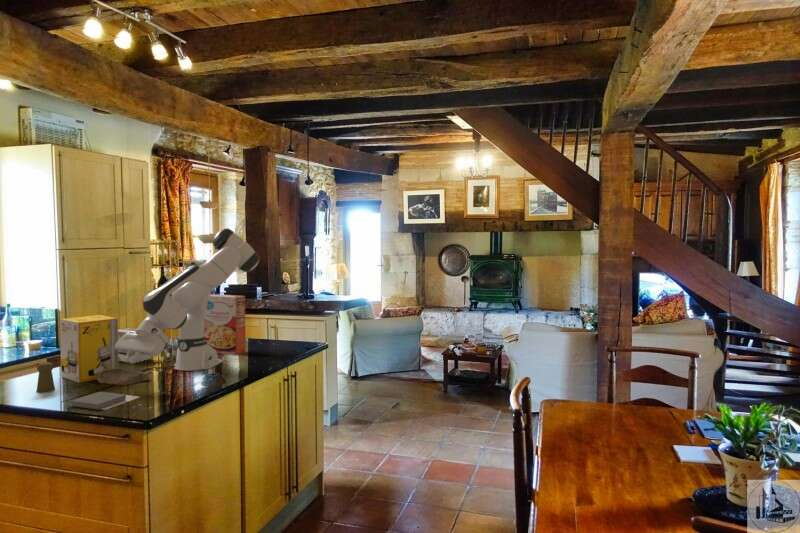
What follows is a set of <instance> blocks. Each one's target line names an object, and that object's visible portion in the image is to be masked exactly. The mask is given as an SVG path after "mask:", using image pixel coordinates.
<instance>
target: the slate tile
mask: <svg viewBox="0 0 800 533" xmlns="http://www.w3.org/2000/svg"><path fill="white" fill-rule="evenodd" d="M126 395H127V394H123V393H115V392H107V391H97V392H95V393H91V394H88V395H85V396H82V397H79V398H75V399H73V400H71V402H70V406H71V407H78V408H83V409H84V408H85V409H91V410H102V409H101V408H104V407H107V406H110V405H112V404H115V403H118V402H121V401H124V400H126Z"/></svg>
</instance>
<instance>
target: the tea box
mask: <svg viewBox="0 0 800 533" xmlns="http://www.w3.org/2000/svg"><path fill="white" fill-rule="evenodd" d="M136 330H137V328H131V327H127V328H122V329H118V340H119V339H120V338H121V337H122V336H123V335H124V334H126V333H128V332H130V331H133V332H135V331H136ZM118 353H119V362H124V363H126V362H125V359H126V357H127V353H122V352H118ZM134 355H135V354H134ZM134 355H133V356H134ZM131 357H132V356H131ZM148 359H149V360H151V356H146V355H141V356H140V357H139V358H138V359H136V360H135V361H134V363H133V364H136V362H137V363H141V362H144V360H145V361H149V360H148ZM140 361H141V362H140Z"/></svg>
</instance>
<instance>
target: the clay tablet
mask: <svg viewBox="0 0 800 533" xmlns="http://www.w3.org/2000/svg"><path fill="white" fill-rule="evenodd" d="M149 380H150V373H149V372H145V371H139V370H132V369H120V368H119V369H112V370H106V371H103V372H102V373H99V375H98V376H97V379H96V381H97V382H98V383H99V384H109V385H116V386H120V385H121V386H127V385H132V384H136V383H142V382H145V381H149Z"/></svg>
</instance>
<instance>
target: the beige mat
mask: <svg viewBox="0 0 800 533" xmlns="http://www.w3.org/2000/svg"><path fill="white" fill-rule="evenodd" d="M125 395H126V400H124V401H121V402H118V403H115V404H112V405H110V406H107V407H104V408H101V409H100V410H102V411H103V410H104V411H106V410H109V409H111V408H114V407H117V406H119V405H122V404H126V403H128V402H131V401H133V400H137V399H139V398H140V396H137V395H136V396H135V395H129V394H125Z"/></svg>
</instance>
